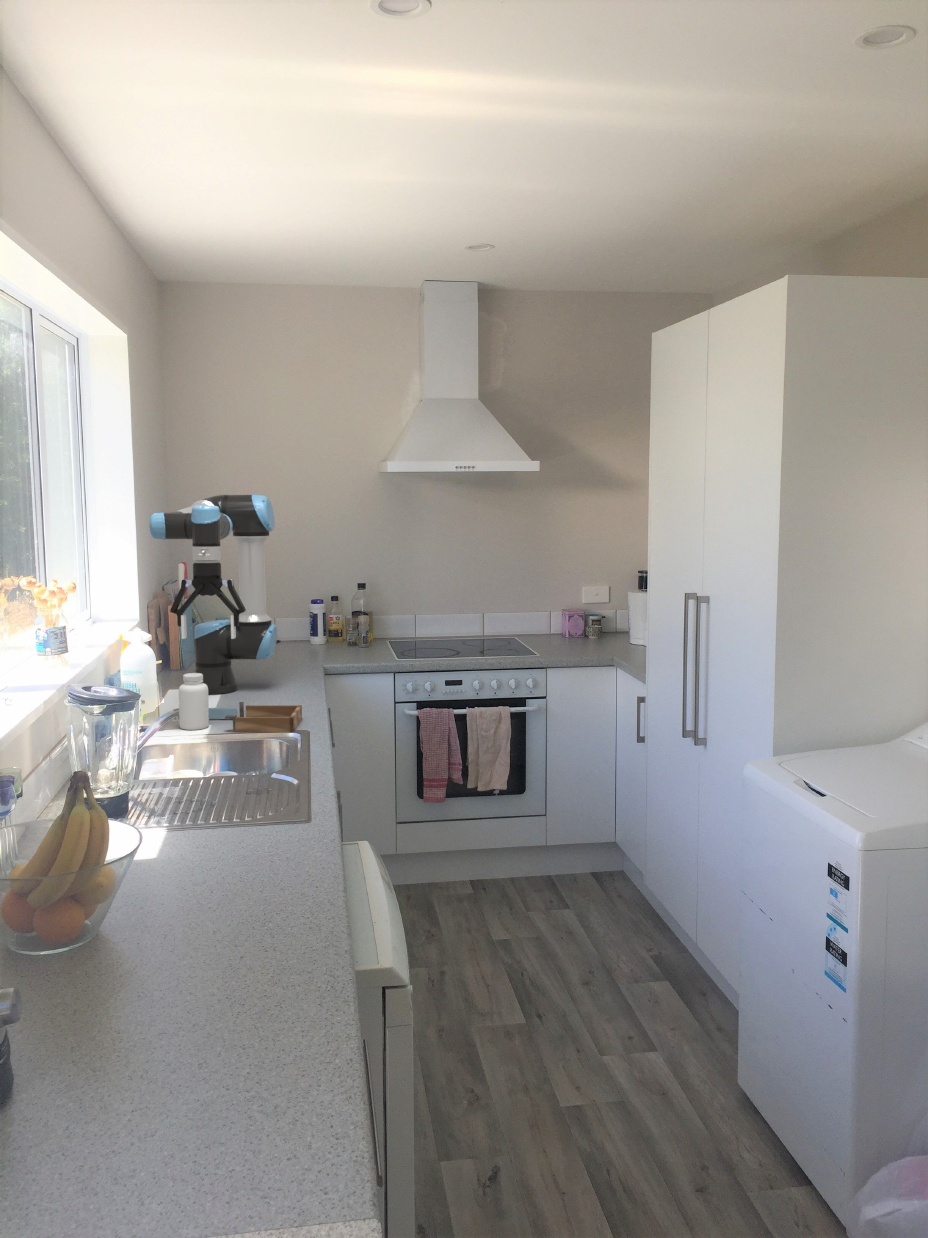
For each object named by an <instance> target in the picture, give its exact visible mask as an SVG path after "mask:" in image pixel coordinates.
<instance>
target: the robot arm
mask: <svg viewBox="0 0 928 1238" xmlns="http://www.w3.org/2000/svg"><path fill="white" fill-rule="evenodd" d="M274 529H275V514H274V508H273V505H272V503H271V500H270V499H269V497H267V496H266V495H263V494H262V495H261V494H217V495H213V496H210V497H206V498H203V499H199V500H197V501H194V502H193V503H192V504H191V505H190V506H189V507H185V508H182V509H178V510H175V511H171V512H163V511H162V512H155V513H152V515H151V516H150V519H149V533H150V535H151V537H152V538H153V539H156V540H163V541H164V540H192V544H191V545H192V561H194V562H193V564H192V579H187V578H185V579H182V580H181V584H180V585H181V586H180V588H179V591H178V593H177V595H176V597H175V599H174V601H173V603H172V606H171V607H170V609H169V611H170V613H173V614H175V615H176V616H177V626H178V627H180V629H181V640H185V639H187V637H188V634H187V632H188V630H187V628H188V627H187V614H184V613H185V612H186V611H187V609H188V608H189V607H190V606H191V605H192V604H193V602H194V600H196V598H197V597H198V596H201V597H203V596H204V597H205V596H209V597H210V596H211V597H212V596H217V597H218V598H219V599H220V600H221V601H222V603H223V604H224V605H225V606H226V607H227V608H228V609H229V611H231V613H232V614H230V619H218V620H211V621H205V622H202V623H201V622H200V623H198V624H197V625H195V626H194V637H193V640H194V662H195V663H194V664H195V668H194V669H195V670H194V672H193V673H201V674H203V682H202V683H204V684H206V685H207V687H208V695H220V694H228V693H232V692H236V691H237V690H238V681H237V678H236V674H235V673H234V670H233V668H232V667H233V666H232V660H256V661H259V660H260V661H261V660H269V659H271V658H272V657H273V655H274V653H275V650H276V645H277V640H278V627H277V625H276V624H274V623H272V618H271V616H269V615H268V614H267V584H266V583H267V582H266V580H267V579H266V544H265V543H266V540H268V539H269V537H270V532H272V531H274ZM231 533H232V537H233V539H235V540H236V541H237V555H238V556H237V558H238V561H237V562H238V584H239V585H238V588H239V591H238V592H239V594H238V592H237V590H236V589H235V586H234V585H235V584H234V583H235V582H234V580H233V579H232V578H230V579H224V580H223V579H222V563H221V559H222V555H221V554H222V553H221V550H222V549H221V541H222V540H224V539H226V538H227V537H229V536H230V534H231ZM191 585H192V586H193V588H194V590H193V591H192V592H191V594H190V596H188V598H187V599H186V600H185V602H184V603H183V604H182V605H181V602H182V600H183V598H184V596H185V594H186V593H187V589H188V588H190V586H191ZM223 585H224V587H225V588H227V589H228V591H229V593H230V595H231V598H232V599H233V601H234V603H235V604H236V605H234V603H233V602H232V601H231V600H230V598H228V597H227V595H226V594H225V592H223V590H222V587H223ZM180 605H181V607H180ZM179 607H180V608H179Z"/></svg>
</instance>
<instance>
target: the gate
mask: <svg viewBox="0 0 928 1238" xmlns="http://www.w3.org/2000/svg"><path fill="white" fill-rule="evenodd" d="M226 715H237V716H238V708H237V707H209V720H219V719H220V720H223V719H224V720H226V719H225V716H226Z"/></svg>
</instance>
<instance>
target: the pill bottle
mask: <svg viewBox="0 0 928 1238" xmlns="http://www.w3.org/2000/svg"><path fill="white" fill-rule="evenodd" d="M182 680H183V684H181V685H180V686H179V687H178V716H179V717H178V719H179V721H178V722H179V727H180V728H179V729H182V730H185V731H187V730H188V731H197V730H204V729H206V728H208V727H209V724H210V719H209V708H210V707H209V694H208V687H207V685H206V684H204V683H202V682H203V674H201V673H194V672H189V673H184V674H182Z"/></svg>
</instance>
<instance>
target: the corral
mask: <svg viewBox="0 0 928 1238" xmlns="http://www.w3.org/2000/svg"><path fill="white" fill-rule="evenodd" d="M238 706H239V716H238V714H237V715H226V716H225V719H224V720H232V733H294V731H296V729H297V727H298V726H299V724H300V723H301V721H302V720H303V705H299V704H295V705H288V704H287V705H280V704H279V705H267V704H266V705H264V704H262V705H252V704H251V705H250V704H249V705H244V702H243V701H240V702H239V704H238ZM244 706H245V707H244ZM244 710H245V711H244Z"/></svg>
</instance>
